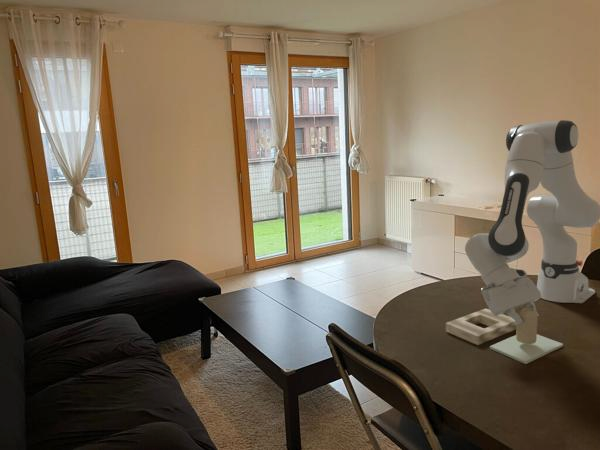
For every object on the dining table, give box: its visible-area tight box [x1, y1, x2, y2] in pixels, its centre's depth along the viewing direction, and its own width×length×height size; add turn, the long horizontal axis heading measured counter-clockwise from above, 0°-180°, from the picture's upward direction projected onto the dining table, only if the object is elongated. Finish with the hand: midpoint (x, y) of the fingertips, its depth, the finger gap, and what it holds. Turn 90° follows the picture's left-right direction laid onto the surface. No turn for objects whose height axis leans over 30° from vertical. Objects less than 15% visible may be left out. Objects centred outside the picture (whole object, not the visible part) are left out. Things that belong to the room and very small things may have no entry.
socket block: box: [445, 308, 517, 346], centre depth 155 cm, size 20×13×3 cm, turn 120°
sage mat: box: [489, 333, 564, 365], centre depth 141 cm, size 18×12×1 cm, turn 120°
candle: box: [515, 306, 538, 344], centre depth 140 cm, size 6×6×10 cm
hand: (528, 320), depth 139 cm, fingers closed on candle, 5 cm apart
